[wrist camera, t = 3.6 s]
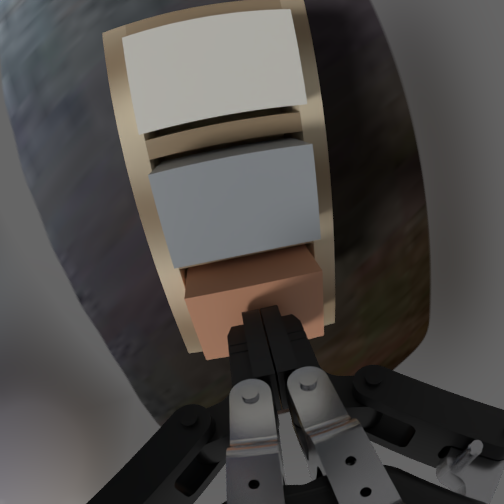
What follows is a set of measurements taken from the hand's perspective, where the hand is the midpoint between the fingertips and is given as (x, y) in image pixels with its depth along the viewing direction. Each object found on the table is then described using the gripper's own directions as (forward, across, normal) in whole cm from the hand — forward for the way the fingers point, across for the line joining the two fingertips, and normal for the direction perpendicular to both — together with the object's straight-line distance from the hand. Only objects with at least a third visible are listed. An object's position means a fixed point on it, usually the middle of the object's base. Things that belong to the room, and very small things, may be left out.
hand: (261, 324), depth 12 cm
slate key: (+3, 0, -5) cm, 6 cm away
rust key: (+3, 0, 0) cm, 3 cm away
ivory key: (+3, 0, -10) cm, 11 cm away
